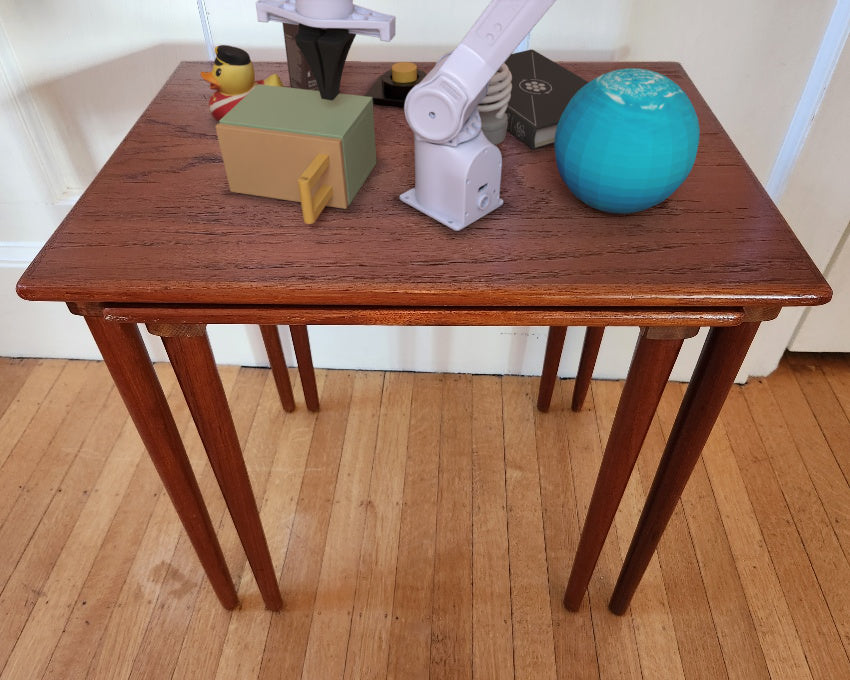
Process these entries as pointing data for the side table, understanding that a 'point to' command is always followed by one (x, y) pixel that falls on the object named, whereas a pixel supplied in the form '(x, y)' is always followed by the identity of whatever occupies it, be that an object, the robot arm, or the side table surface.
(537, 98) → the book
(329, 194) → the cupboard door
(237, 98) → the toy
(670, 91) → the decorative orb
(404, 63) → the button
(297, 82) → the box
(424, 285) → the side table surface
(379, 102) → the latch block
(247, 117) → the cupboard
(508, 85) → the light bulb
